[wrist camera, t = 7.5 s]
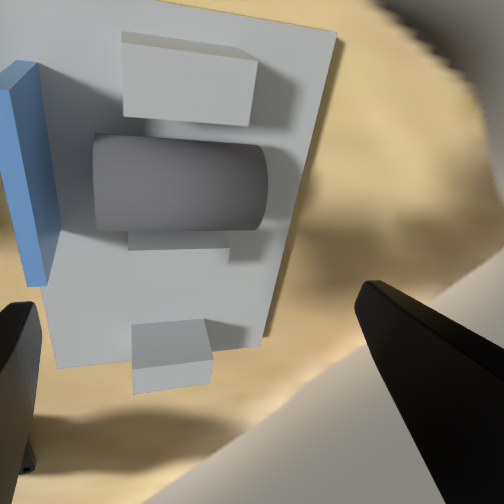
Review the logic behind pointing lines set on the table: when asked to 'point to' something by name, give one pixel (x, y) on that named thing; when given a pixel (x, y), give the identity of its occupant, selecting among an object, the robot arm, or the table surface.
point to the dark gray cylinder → (177, 184)
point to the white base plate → (161, 126)
